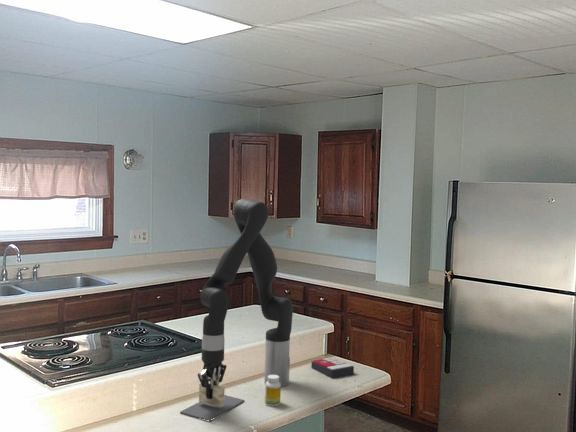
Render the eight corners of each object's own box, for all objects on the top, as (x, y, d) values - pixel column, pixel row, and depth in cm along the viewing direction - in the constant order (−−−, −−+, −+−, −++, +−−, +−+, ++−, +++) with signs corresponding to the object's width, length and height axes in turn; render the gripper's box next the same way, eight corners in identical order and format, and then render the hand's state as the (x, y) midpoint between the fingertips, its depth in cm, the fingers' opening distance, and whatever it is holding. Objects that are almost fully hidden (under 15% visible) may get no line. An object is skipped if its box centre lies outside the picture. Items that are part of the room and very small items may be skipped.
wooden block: (224, 405, 189) (224, 387, 189) (220, 407, 188) (221, 389, 187) (202, 399, 194) (203, 382, 194) (198, 401, 192) (199, 383, 192)
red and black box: (332, 356, 242) (354, 364, 230) (332, 366, 242) (354, 375, 230) (311, 359, 237) (332, 368, 224) (311, 370, 237) (332, 379, 224)
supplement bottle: (262, 401, 198) (263, 374, 198) (276, 399, 200) (277, 373, 200) (268, 407, 193) (269, 379, 193) (282, 405, 196) (283, 378, 195)
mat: (216, 394, 204) (216, 392, 204) (244, 401, 198) (244, 400, 198) (180, 413, 186) (180, 411, 186) (209, 421, 180) (209, 420, 180)
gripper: (209, 353, 182) (208, 406, 183) (234, 343, 194) (232, 393, 195) (191, 349, 186) (189, 401, 186) (216, 340, 198) (214, 389, 199)
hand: (211, 397), depth 191 cm, fingers closed on wooden block, 2 cm apart
